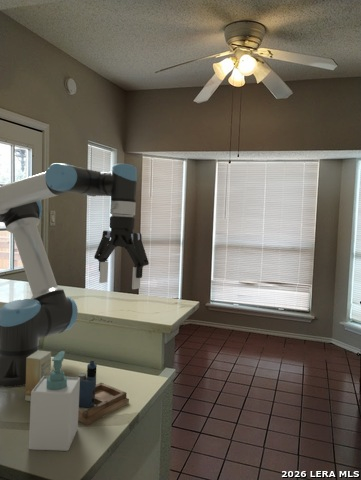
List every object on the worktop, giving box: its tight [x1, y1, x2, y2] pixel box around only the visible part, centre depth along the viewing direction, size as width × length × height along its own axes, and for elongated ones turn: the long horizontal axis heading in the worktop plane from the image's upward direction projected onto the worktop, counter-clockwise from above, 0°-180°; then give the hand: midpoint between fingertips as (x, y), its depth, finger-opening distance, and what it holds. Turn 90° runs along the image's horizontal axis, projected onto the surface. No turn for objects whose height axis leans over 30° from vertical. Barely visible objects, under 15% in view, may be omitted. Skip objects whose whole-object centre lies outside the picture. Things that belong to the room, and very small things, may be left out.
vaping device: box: [77, 360, 97, 408], centre depth 99 cm, size 3×5×12 cm, turn 80°
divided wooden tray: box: [78, 382, 130, 426], centre depth 102 cm, size 12×15×3 cm
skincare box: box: [24, 349, 52, 402], centre depth 105 cm, size 6×4×12 cm
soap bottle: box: [28, 350, 80, 452], centre depth 85 cm, size 9×9×19 cm
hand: (119, 285), depth 115 cm, fingers open, 13 cm apart
